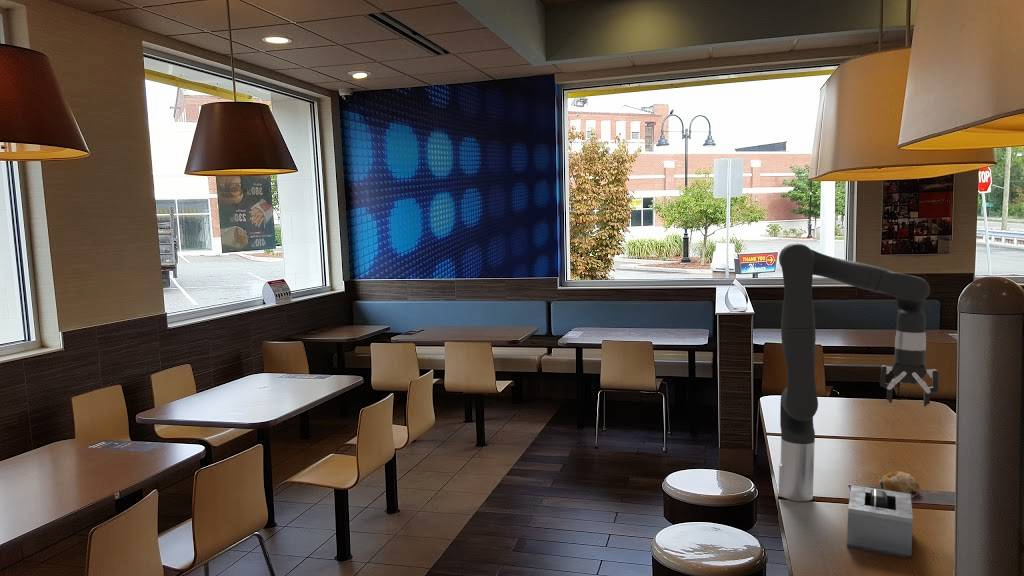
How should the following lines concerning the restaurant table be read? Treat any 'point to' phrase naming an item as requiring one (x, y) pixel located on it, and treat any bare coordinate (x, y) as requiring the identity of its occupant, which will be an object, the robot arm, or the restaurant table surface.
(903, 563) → the restaurant table surface
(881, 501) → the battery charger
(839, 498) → the restaurant table surface
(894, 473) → the bread roll
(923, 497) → the restaurant table surface
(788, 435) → the robot arm
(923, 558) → the restaurant table surface
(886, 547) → the box
